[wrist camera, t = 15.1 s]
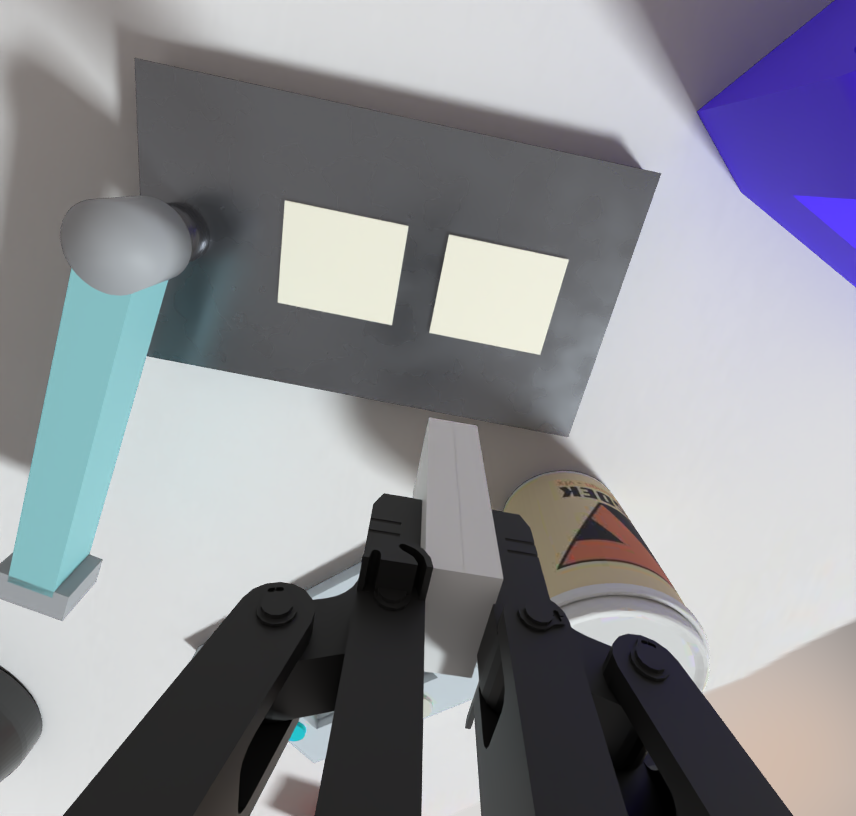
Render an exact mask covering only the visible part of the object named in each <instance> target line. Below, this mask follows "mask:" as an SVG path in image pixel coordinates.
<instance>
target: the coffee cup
mask: <svg viewBox="0 0 856 816" xmlns="http://www.w3.org/2000/svg"><path fill="white" fill-rule="evenodd" d="M503 512H507V513H514V514H519V515H520V516H521V517H522V518H523V520H524V521H525V522H526V523H527V524H528V526H529V527H530V528H531V531H532V535H533V539H534V542H535V543H534V545H535V546H536V550H537V553H538V558H539V561H540V564H541V568H542V572H543V575H544V579H545V582H546V586H547V590H548V593H549V597H550V600H551V601H553V602H555V603H556V604H557V605H558V606H559V607H560V608H561V609H562V610H563V611H564V612H565V614H566V616H567V618H568V620H569V622H570V625H571V627H572V628H573V629H575V630H576V631H578V632H580V633H582V634H584V635H586V636H588V637H590V638H593V639H595V640H598V641H600V642H602V643H605V644H607V645H610V646H612V644H613V643H614V641H615V640H616V639H617V638H618V636H622V635H625V634H636V635H642V636H644V637H647V638H649V639H652V640H654V641H656V642H657V643H659V644H660V645H661V646H663V647H664V648H666V649H667V650H668V651H669V652H670V653H671V654H672V655H673V656H674V657H675V658H676V659H677V660H678V661H679V663H680V664H681V665H682V667H683V668H684V670H685V671H686V672H687V674H688V675H689V676H690V678H691V679H692V680H693V682H694V683H695V684H696V686H697V687H698V688H699V690H700V691H701V692H702V693H703V691H704V689H705V687H706V684H707V681H708V677H709V667H710V663H709V659H710V650H709V644H708V641H707V637H706V635H705V632H704V630H703V628H702V626H701V625H700V623H699V622H698V621H697V619H696V618H695V616H694V615H693V614H692V613H691V612H690V610H689V609H688V608H687V607H686V606H685V605H684V603H683V602H682V600H681V598H680V597H679V595H678V594H677V592H676V590H675V589H674V587H673V586H672V584H671V582H670V581H669V579H668V578H667V576H666V575H665V573H664V572H663V570H662V569H661V567H660V565H659V564H658V562H657V561H656V559H655V558H654V556H653V555H652V553H651V552H650V550H649V548H648V547H647V545H646V544H645V542H644V541H643V539H642V538H641V536H640V535H639V533H638V532H637V530H636V529H635V527H634V526H633V524H632V523H631V521H630V520H629V518H628V517H627V515H626V513H625V512H624V510H623V509H622V507H621V506H620V504H619V503H618V502H617V500H616V499H615V497H614V496H613V495H612V493H611V492H610V491H609V490H608V488H607V487H606V486H604V485H603V484H602V483H601V482H599V481H598V480H596V479H594V478H593V477H590V476H588V475H586V474H583V473H579V472H573V471H554V472H548V473H544V474H541V475H538V476H536V477H534V478H532V479H529V480H528V481H526V482H525V483H523V484H522V485H521V486H520V487H518V488H517V489H516V490H515V491H514V492H513V494H512V495H511V496H510V498H509V499H508V501H507V503H506V505H505V507H504V510H503Z"/></svg>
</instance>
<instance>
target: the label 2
mask: <svg viewBox="0 0 856 816" xmlns="http://www.w3.org/2000/svg"><path fill="white" fill-rule="evenodd" d="M568 261H569V259H565V258H560V257H556V256H551V255H546V254H541V253H536V252H532V251H527V250H522V249H517V248H513V247H508V246H503V245H498V244H493V243H489V242H484V241H479V240H474V239H470V238H465V237H460V236H455V235H450V234H449V237H448V242H447V247H446V252H445V257H444V262H443V267H442V271H441V276H440V281H439V286H438V291H437V296H436V301H435V306H434V311H433V316H432V321H431V326H430V331H429V333H433V334H438V335H443V336H448V337H453V338H458V339H463V340H468V341H473V342H478V343H483V344H488V345H493V346H498V347H503V348H508V349H513V350H518V351H523V352H528V353H533V354H538V355H540V354H541V350H542V347H543V344H544V341H545V337H546V334H547V331H548V327H549V324H550V321H551V317H552V314H553V311H554V308H555V304H556V301H557V298H558V294H559V291H560V288H561V284H562V281H563V278H564V274H565V271H566V268H567V265H568Z"/></svg>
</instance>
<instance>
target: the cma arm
mask: <svg viewBox="0 0 856 816" xmlns="http://www.w3.org/2000/svg"><path fill="white" fill-rule="evenodd" d="M60 238H61V245H62V249H63V252H64V255H65V257H66V259H67V261H68V263H69V265H70V266H71V273H70V278H69V283H68V288H67V292H66V297H65V302H64V307H63V312H62V317H61V322H60V327H59V332H58V336H57V341H56V346H55V351H54V356H53V361H52V366H51V371H50V376H49V380H48V385H47V390H46V395H45V400H44V405H43V410H42V415H41V420H40V424H39V429H38V434H37V439H36V444H35V449H34V454H33V459H32V463H31V468H30V473H29V478H28V483H27V488H26V493H25V498H24V503H23V507H22V512H21V517H20V522H19V527H18V532H17V537H16V542H15V547H14V551H13V553H12V554H11V555H10V556H8V557H7V558H6V559H5V560H4V561H3V562H1V563H0V599H2V600H5V601H8V602H10V603H13V604H16V605H19V606H22V607H24V608H27V609H30V610H33V611H36V612H38V613H41V614H44V615H47V616H49V617H52V618H55V619H58V620H61V621H63V620H64V618H65V617H66V616H67V615H68V614H69V613H70V611H71V610H72V609H73V608H74V607H75V606H76V604H77V603H78V602H79V601H80V600H81V599H82V597H83V596H84V595H85V594H86V593H87V592H88V591H89V589H90V588H91V587H92V586H93V585H94V584H95V582H96V580H97V576H98V573H99V570H100V567H101V563H102V559H100V558H97V557H95V556H92V555H89V554H90V550H91V547H92V543H93V540H94V536H95V533H96V529H97V526H98V522H99V519H100V515H101V512H102V509H103V505H104V502H105V498H106V495H107V491H108V488H109V484H110V481H111V477H112V474H113V470H114V467H115V463H116V460H117V456H118V453H119V450H120V446H121V443H122V439H123V436H124V432H125V429H126V425H127V422H128V418H129V415H130V411H131V408H132V404H133V401H134V397H135V394H136V390H137V387H138V384H139V380H140V377H141V373H142V370H143V366H144V363H145V359H146V356H147V352H148V349H149V345H150V342H151V338H152V335H153V331H154V328H155V325H156V321H157V318H158V314H159V311H160V307H161V304H162V300H163V297H164V293H165V290H166V286H167V283H168V280H169V279H172V278H174V277H176V276H178V275H179V274H180V273H182V272H183V271H184V269H185V268H186V267H187V265H188V263H189V260H190V257H191V251H192V243H191V237H190V234H189V231H188V229H187V226H186V224H185V223H184V221H183V219H182V218H181V217H180V215H179V214H178V213H177V212H176V211H175V210H174V209H173V208H172V207H171V206H169V205H168V204H166V203H165V202H163V201H161V200H159V199H157V198H153V197H150V196H129V197H115V198H102V199H90V200H85V201H82V202H79V203H77V204H76V205H74V206H73V207H72V208H71V209H70V210H69V211H68V212H67V214H66V215H65V217H64V219H63V221H62V225H61V232H60Z"/></svg>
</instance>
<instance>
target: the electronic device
mask: <svg viewBox="0 0 856 816" xmlns="http://www.w3.org/2000/svg"><path fill="white" fill-rule="evenodd" d="M361 563H362V562H360V563H358V564H356V565H354V566H352V567H350V568H348V569H346V570H345V571H343V572H341V573H339V574H337V575H335V576H333V577H331V578H329V579H327V580H325V581H324V582H322V583H320V584H318V585H316V586H314V587H312V588H310V589H308V590H306V592H307V593H308V594H309V595H310V597H311V598H312V599H313V600H314V599H323V598H329V597H334V596H337V595H340V594H342V593H344V592H346V591H347V590H349V589H350V588H352V587H353V586H354V584H355V583H356V582H357V581H358V578H359V574H360V568H361ZM203 645H204V644H203ZM203 645H201V646H199V647H198V649H197V650H196V652H195V654H194V656H195V655H196V654H197V653H198V651H199V650H200V649H201V648H202V646H203ZM194 656H193V657H194ZM192 659H193V658H192ZM478 682H479V675H478V663H476V666H475V669H474V672H473V675H472V678H466V677H459V676H452V675H446V674H439V673H432V672H425V671H424V697H423V719H425V718H427V717H430V716H432V715H435V714H437V713H440V712H442V711H445V710H447V709H450V708H452V707H455V706H457V705H460V704H462V703H465V702H467V701H469V700H472V699H473V697H474V694H475V691H476V688H477V685H478ZM333 715H334V711H332V712H327V713H322V714H319V715H318V714H317V715H312V716H307V717H302V718H299V721H298V723H297V725H296V727H295V729H294V731H293V733H292V735H291V737H290V739H289V741H288V742H289V743H291V744H292V745H293V746H294V747H295V748H297V749H298V750H299V751H300V752H301V753H302V754H304V755H305V756H306V757H307V758H308V759H310V760H311V761H312V762H313V763H316V762H319V761H321V760H324V759H325V758H326V753H327V747H328V742H329V737H330V731H331V726H332V721H333Z"/></svg>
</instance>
